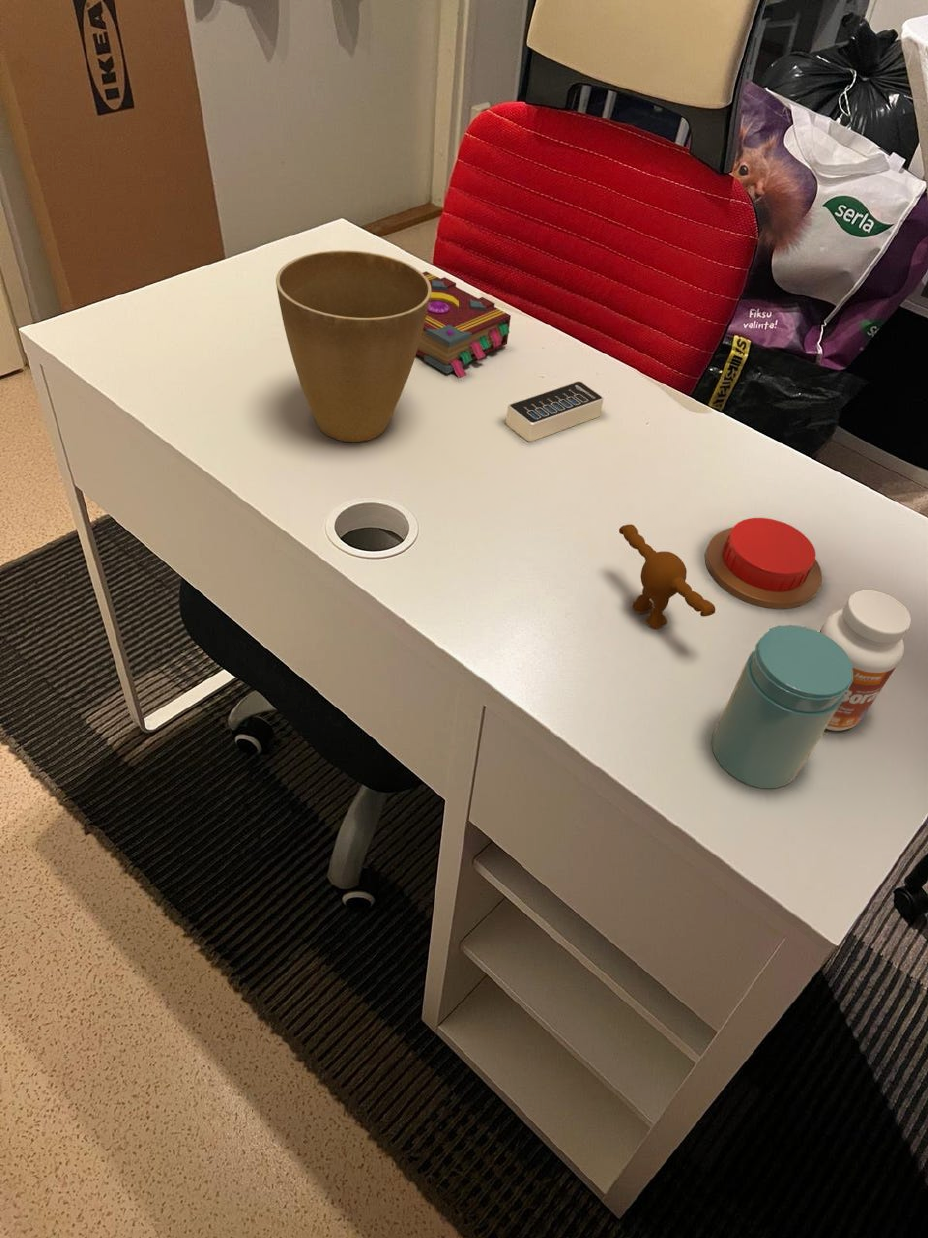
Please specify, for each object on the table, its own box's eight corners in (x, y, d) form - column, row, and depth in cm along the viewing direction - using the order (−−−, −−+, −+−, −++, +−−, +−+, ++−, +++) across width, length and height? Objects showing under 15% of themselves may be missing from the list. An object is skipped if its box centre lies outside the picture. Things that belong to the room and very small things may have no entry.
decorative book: (424, 301, 119) (427, 264, 116) (515, 351, 112) (521, 313, 109) (360, 326, 113) (361, 288, 110) (452, 380, 106) (456, 341, 103)
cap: (782, 532, 90) (790, 514, 89) (823, 587, 85) (832, 569, 83) (708, 538, 88) (715, 520, 87) (745, 596, 83) (753, 577, 81)
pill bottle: (819, 742, 72) (876, 649, 65) (772, 686, 76) (821, 592, 68) (877, 721, 75) (939, 629, 67) (829, 668, 78) (882, 575, 71)
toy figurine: (708, 653, 78) (732, 597, 74) (675, 666, 77) (697, 609, 72) (627, 567, 85) (644, 511, 81) (595, 578, 84) (610, 521, 79)
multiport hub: (503, 422, 101) (506, 404, 99) (576, 397, 106) (579, 379, 104) (528, 442, 99) (531, 424, 97) (601, 415, 104) (605, 398, 102)
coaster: (842, 594, 86) (846, 588, 85) (749, 620, 82) (752, 613, 81) (772, 523, 92) (775, 517, 92) (683, 544, 89) (685, 537, 88)
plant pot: (394, 477, 92) (400, 332, 81) (260, 442, 94) (248, 295, 83) (439, 405, 102) (451, 267, 91) (318, 374, 104) (314, 236, 93)
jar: (818, 772, 70) (877, 680, 63) (747, 800, 68) (799, 708, 60) (762, 706, 75) (811, 613, 67) (694, 731, 72) (736, 636, 64)
